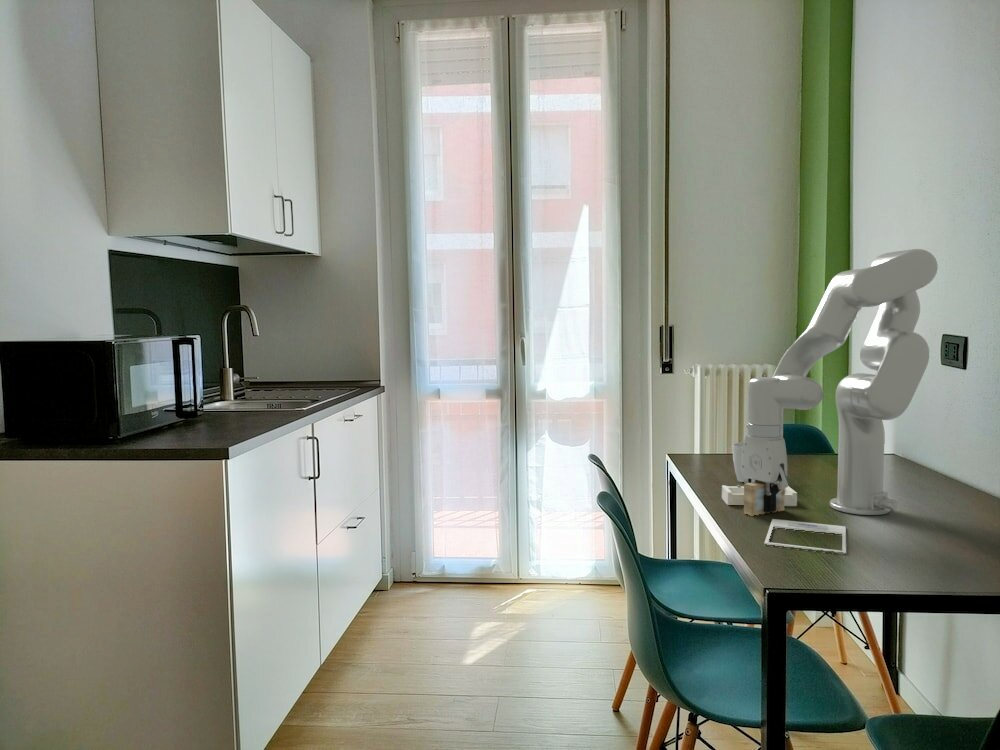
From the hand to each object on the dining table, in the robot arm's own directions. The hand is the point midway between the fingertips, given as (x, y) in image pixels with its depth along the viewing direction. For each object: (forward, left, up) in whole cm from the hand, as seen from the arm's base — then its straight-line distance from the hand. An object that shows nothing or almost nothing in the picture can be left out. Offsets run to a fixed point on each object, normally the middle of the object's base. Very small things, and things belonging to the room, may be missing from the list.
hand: (764, 509), depth 164 cm
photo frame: (-17, +7, -1) cm, 18 cm away
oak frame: (0, 0, -1) cm, 1 cm away
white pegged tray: (+7, -6, -1) cm, 9 cm away
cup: (+23, -21, -1) cm, 31 cm away
